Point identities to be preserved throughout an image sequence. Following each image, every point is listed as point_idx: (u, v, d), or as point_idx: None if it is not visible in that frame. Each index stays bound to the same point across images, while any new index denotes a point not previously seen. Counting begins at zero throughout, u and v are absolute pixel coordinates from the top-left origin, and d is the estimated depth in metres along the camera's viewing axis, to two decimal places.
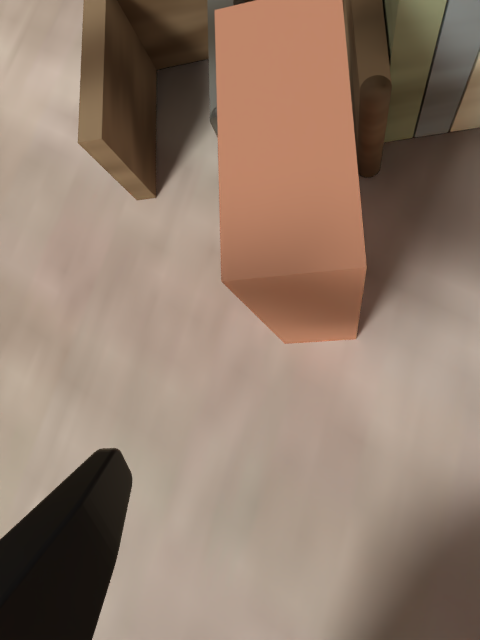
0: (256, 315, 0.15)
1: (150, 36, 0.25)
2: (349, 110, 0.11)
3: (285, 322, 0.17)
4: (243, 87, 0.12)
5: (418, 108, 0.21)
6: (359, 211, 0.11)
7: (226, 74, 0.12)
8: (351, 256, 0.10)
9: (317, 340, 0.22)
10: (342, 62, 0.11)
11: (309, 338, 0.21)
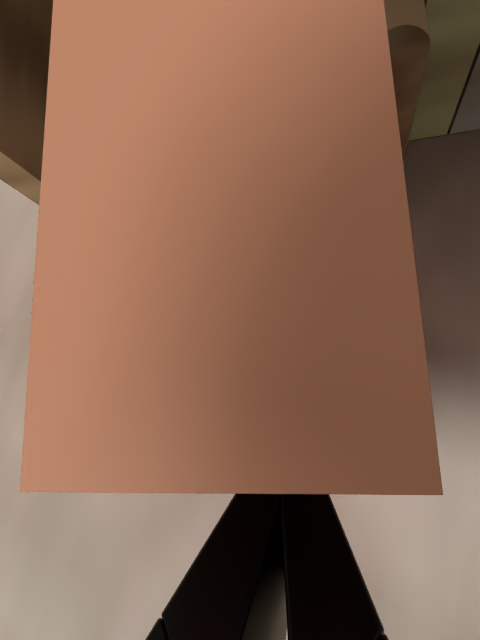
0: None
1: None
2: (378, 17, 0.04)
3: None
4: None
5: (461, 88, 0.14)
6: (414, 306, 0.03)
7: None
8: (392, 452, 0.03)
9: None
10: None
11: None
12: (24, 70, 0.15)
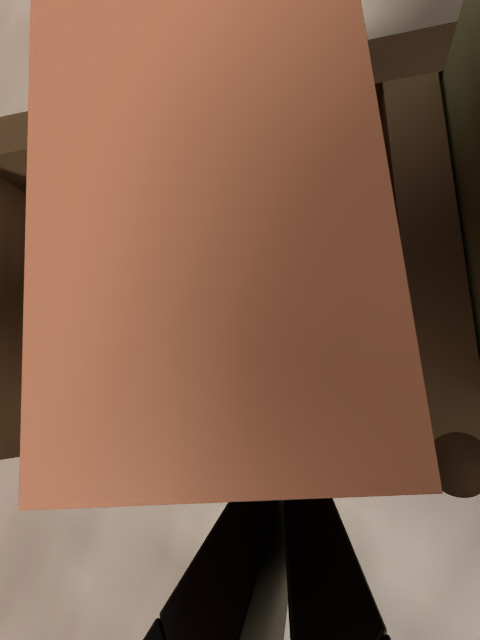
0: None
1: None
2: (356, 17, 0.04)
3: None
4: None
5: None
6: (405, 305, 0.03)
7: None
8: (390, 452, 0.03)
9: None
10: None
11: None
12: (3, 336, 0.13)
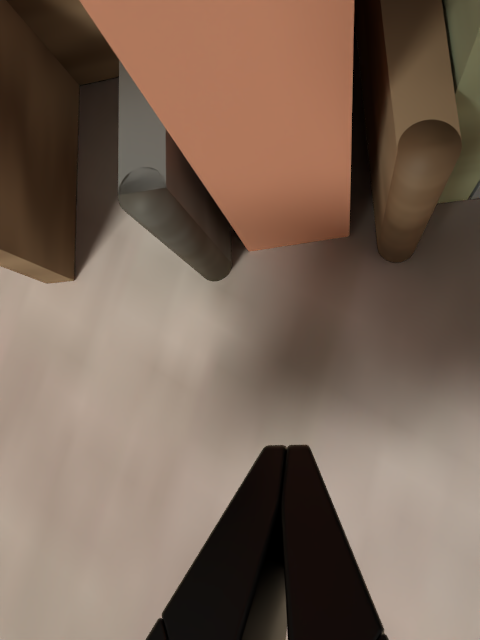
0: (167, 130, 0.09)
1: (58, 37, 0.16)
2: None
3: (228, 165, 0.10)
4: None
5: None
6: None
7: None
8: None
9: (293, 240, 0.15)
10: None
11: (280, 233, 0.14)
12: None
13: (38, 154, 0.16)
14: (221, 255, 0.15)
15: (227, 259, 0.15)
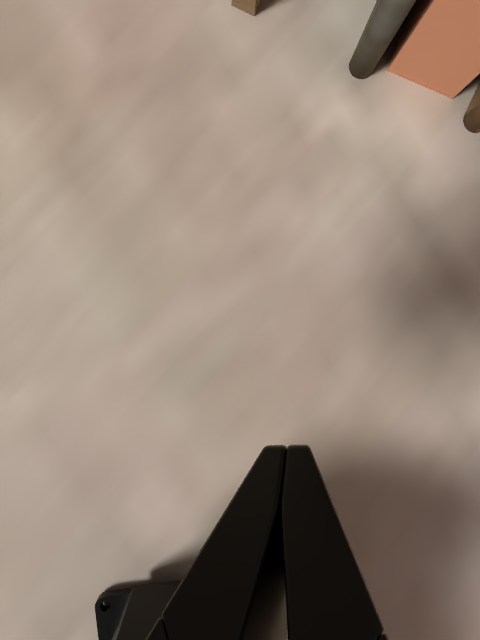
0: None
1: None
2: None
3: None
4: None
5: None
6: None
7: None
8: None
9: (421, 79, 0.21)
10: None
11: (423, 67, 0.20)
12: None
13: None
14: None
15: (375, 66, 0.21)
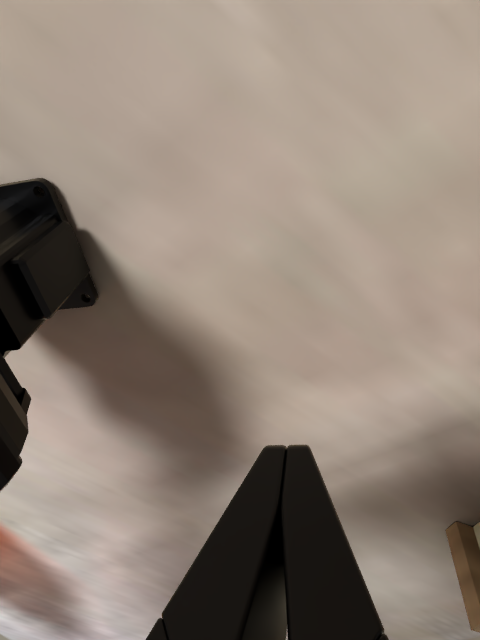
0: None
1: None
2: None
3: None
4: None
5: None
6: None
7: None
8: None
9: None
10: None
11: None
12: None
13: None
14: None
15: None
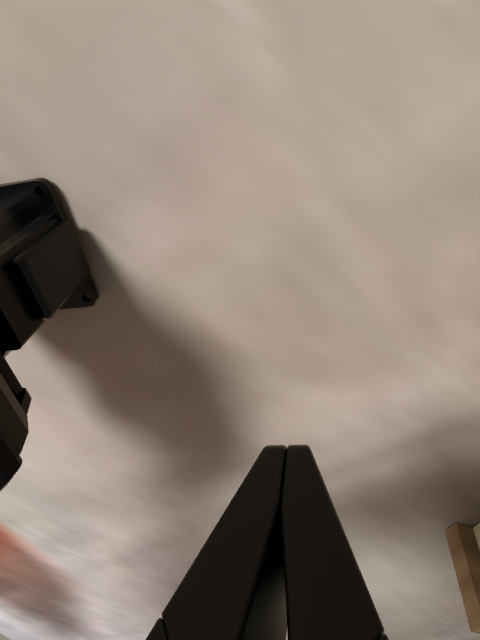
0: None
1: None
2: None
3: None
4: None
5: None
6: None
7: None
8: None
9: None
10: None
11: None
12: None
13: None
14: None
15: None
